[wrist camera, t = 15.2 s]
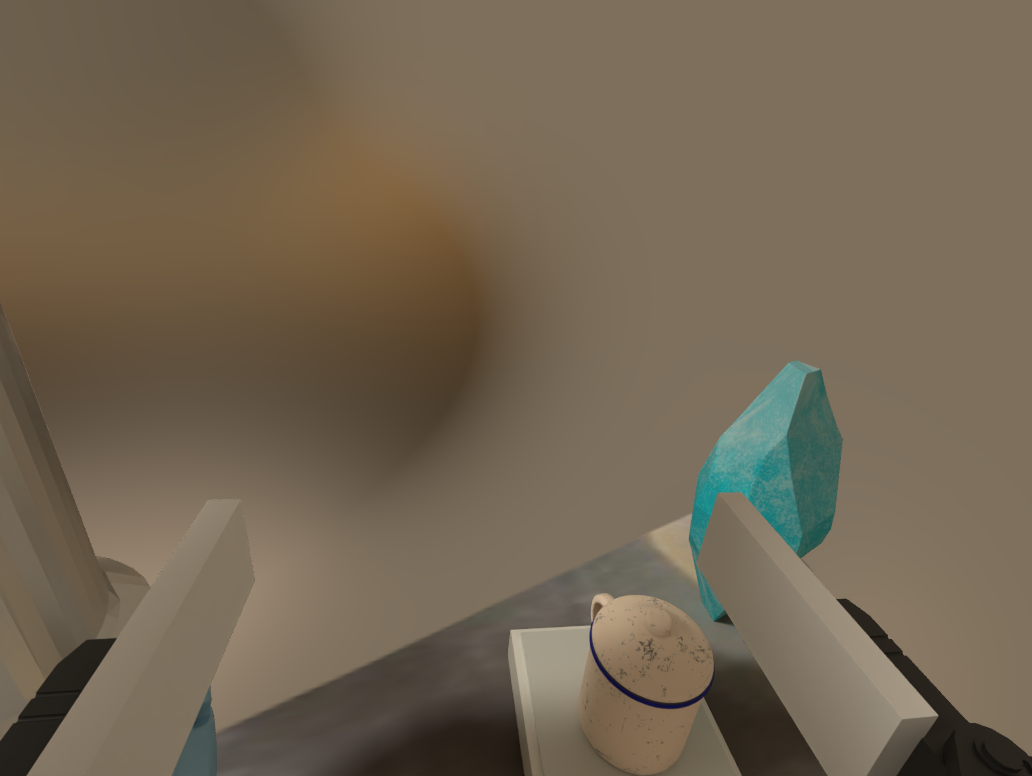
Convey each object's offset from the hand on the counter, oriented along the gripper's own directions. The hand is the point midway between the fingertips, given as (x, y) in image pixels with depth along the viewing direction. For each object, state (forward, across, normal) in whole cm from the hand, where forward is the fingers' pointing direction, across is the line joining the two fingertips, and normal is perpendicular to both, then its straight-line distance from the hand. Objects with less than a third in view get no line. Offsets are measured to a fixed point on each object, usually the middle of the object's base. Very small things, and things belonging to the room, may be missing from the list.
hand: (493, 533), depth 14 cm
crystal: (+27, +31, -35) cm, 54 cm away
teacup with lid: (+15, +14, -31) cm, 37 cm away
